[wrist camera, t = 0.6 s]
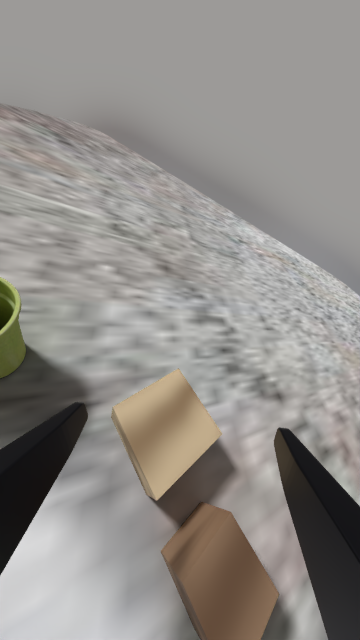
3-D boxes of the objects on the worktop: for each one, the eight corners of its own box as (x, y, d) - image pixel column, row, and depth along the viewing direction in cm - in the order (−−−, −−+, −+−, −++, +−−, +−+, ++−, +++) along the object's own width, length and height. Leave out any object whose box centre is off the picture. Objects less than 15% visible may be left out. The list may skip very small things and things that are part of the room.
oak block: (202, 439, 23) (222, 433, 19) (145, 494, 18) (156, 500, 14) (167, 382, 26) (178, 368, 22) (111, 417, 21) (112, 407, 17)
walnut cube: (233, 561, 17) (279, 594, 13) (194, 628, 14) (235, 701, 10) (201, 501, 19) (230, 512, 14) (160, 550, 16) (182, 582, 12)
